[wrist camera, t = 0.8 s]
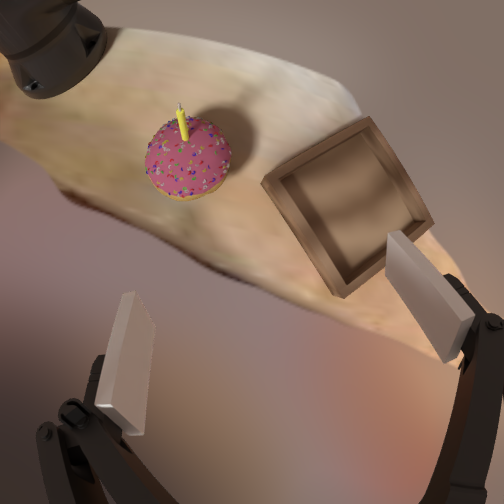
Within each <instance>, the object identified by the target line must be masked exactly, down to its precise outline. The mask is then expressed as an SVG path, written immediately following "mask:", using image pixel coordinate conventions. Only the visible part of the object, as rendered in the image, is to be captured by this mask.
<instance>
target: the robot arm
mask: <svg viewBox="0 0 504 504" xmlns="http://www.w3.org/2000/svg"><path fill="white" fill-rule="evenodd" d="M77 1H80V0H0V52H1V53H2V54H3V55H4V56H5V57H6V58H7V59H8V62H9V65H10V68H11V71H12V74H13V76H14V79H15V82H16V84H17V86H18V87H19V88H20V89H21V90H22V91H23V92H24V93H25V94H26V95H27V96H29V97H31V98H34V99H46V98H50V97H54V96H56V95H59V94H61V93H63V92H65V91H66V90H68V89H70V88H71V87H73V86H74V85H76V84H77V83H78V82H79V81H81V80H82V79H83V78H84V77H85V76H86V75H87V74H88V73H89V72H90V71H91V70H92V69H93V68H94V66H95V65H96V64H97V62H98V61H99V59H100V58H101V56H102V54H103V52H104V50H105V47H106V43H107V33H106V30H105V28H104V26H103V24H102V22H101V21H100V19H99V18H98V17H97V16H96V15H94V14H93V13H91V12H90V11H89V10H87V9H86V8H85V7H83V6H82V5H80V4H79V3H78V2H77ZM385 276H386V277H387V279H388V280H389V281H390V283H391V284H392V286H393V287H394V288H395V290H396V291H397V293H398V294H399V296H400V297H401V298H402V300H403V301H404V303H405V304H406V306H407V307H408V309H409V310H410V312H411V313H412V315H413V316H414V318H415V319H416V321H417V322H418V324H419V325H420V327H421V328H422V330H423V331H424V333H425V334H426V336H427V338H428V339H429V341H430V342H431V344H432V346H433V347H434V349H435V350H436V352H437V354H438V355H439V357H440V359H441V360H442V362H443V363H444V364H445V363H447V362H449V361H451V360H453V359H455V358H457V356H458V354H459V352H460V350H462V352H463V353H464V357H463V359H462V361H461V363H460V365H459V367H458V369H459V370H460V368H461V372H460V377H459V383H458V388H457V392H456V397H455V402H454V406H453V410H452V414H451V418H450V422H449V425H448V429H447V432H446V436H445V439H444V443H443V446H442V449H441V452H440V456H439V458H438V461H437V464H436V467H435V470H434V472H433V475H432V478H431V480H430V483H429V485H428V488H427V490H426V493H425V495H424V497H423V498H422V500H421V501H420V502H419V504H485V502H486V498H487V490H486V489H485V487H484V486H485V480H486V477H487V473H488V470H489V466H490V462H491V458H492V454H493V449H494V444H495V440H496V434H497V429H498V423H499V417H500V410H501V403H502V394H503V399H504V320H503V319H502V318H501V317H500V316H498V315H496V314H493V313H487V312H486V311H485V310H484V309H483V307H482V306H481V305H480V304H479V303H478V301H477V300H476V299H475V298H474V297H473V295H472V294H471V293H469V291H468V290H467V289H466V287H464V285H463V284H462V283H461V282H460V281H459V279H458V278H456V277H454V276H452V275H451V274H449V273H448V274H446V275H442V274H441V273H440V272H439V271H438V270H437V269H436V268H435V266H434V265H433V264H432V263H431V262H430V261H429V260H428V259H427V258H426V257H425V255H424V254H423V253H422V252H421V251H420V250H419V249H418V248H417V247H416V246H415V245H414V244H413V243H412V242H411V241H410V240H409V239H408V238H407V237H406V236H405V235H404V234H403V233H402V231H401V230H398V231H393V232H389V233H388V236H387V253H386V266H385ZM155 330H156V327H155V325H154V323H153V321H152V320H151V318H150V316H149V314H148V312H147V311H146V309H145V307H144V305H143V304H142V301H141V299H140V298H139V296H138V294H137V292H136V291H132V292H127V293H123V295H122V298H121V302H120V305H119V308H118V312H117V315H116V318H115V322H114V326H113V329H112V333H111V336H110V340H109V344H108V347H107V351H106V354H105V355H98V357H97V358H96V360H95V361H94V363H93V365H92V369H91V372H90V374H91V375H90V377H89V383H88V384H87V388H86V393H85V397H84V401H83V403H82V402H81V401H80V400H78V399H75V398H72V399H69V400H67V401H65V402H64V403H63V404H62V405H61V407H60V409H59V412H58V418H59V421H61V422H62V423H63V425H60V426H56V425H55V424H54V423H52V422H44V423H43V424H41V425H40V426H39V428H38V429H37V432H36V442H37V448H38V454H39V460H40V465H41V470H42V475H43V480H44V484H45V488H46V492H47V496H48V500H49V504H109V503H108V501H107V498H106V496H105V493H104V491H103V488H102V485H101V483H100V480H101V482H102V483H103V485H104V486H105V488H106V489H107V491H108V492H109V494H110V495H111V496H112V498H113V499H114V501H115V502H116V503H117V504H179V503H178V502H177V501H176V500H175V499H174V498H173V497H172V496H171V495H170V494H169V493H168V491H167V490H166V489H165V488H164V487H163V486H162V485H161V484H160V483H159V482H158V480H157V479H156V478H155V477H154V476H153V475H152V473H151V472H150V471H149V470H148V469H147V468H146V466H145V465H144V464H143V463H142V461H141V460H140V459H139V458H138V456H137V455H136V454H135V453H134V451H133V450H132V449H131V448H130V446H129V445H128V444H127V442H126V441H125V440H124V439H123V438H122V437H121V436H122V430H123V431H124V432H125V433H127V434H128V435H144V428H145V416H146V405H147V404H146V403H147V394H148V385H149V375H150V367H151V360H152V352H153V344H154V337H155ZM99 479H100V480H99Z"/></svg>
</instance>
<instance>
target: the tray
mask: <svg viewBox="0 0 504 504" xmlns="http://www.w3.org/2000/svg"><path fill="white" fill-rule="evenodd" d="M261 185H262V187H263V188H264V190H265V191H266V192H267V194H268V195H269V197H270V198H271V200H272V201H273V203H274V204H275V206H276V207H277V209H278V210H279V212H280V213H281V215H282V216H283V218H284V220H285V221H286V223H287V224H288V226H289V227H290V229H291V230H292V232H293V233H294V235H295V236H296V238H297V239H298V241H299V243H300V244H301V246H302V247H303V249H304V250H305V252H306V253H307V255H308V257H309V258H310V260H311V261H312V263H313V265H314V266H315V268H316V269H317V271H318V272H319V274H320V276H321V277H322V279H323V280H324V282H325V284H326V285H327V287H328V289H329V290H330V292H331V293H332V295H334V296H337V297H340V298H343V299H345V298H346V297H347V296H348V295H350V294H351V293H352V292H354V291H355V290H356V289H358V288H359V287H360V286H361V285H363V284H364V283H365V282H366V281H368V280H369V279H370V278H371V277H373V276H374V275H375V274H376V273H378V272H379V271H380V270H381V269H383V268H384V267H385V266H386V253H387V236H388V233H389V232H393V231H398V230H401V231H402V233H403V234H404V235H405V236H406V237H407V238H408V239H409V240H410V241H411V242H412V243H413V242H415V241H416V240H417V239H418V238H419V237H420V236H421V235H423V234H424V233H425V232H426V231H427V230H428V229H429V228H430V227H432V225H434V224H435V223H434V221H433V219H432V217H431V215H430V213H429V212H428V210H427V208H426V206H425V204H424V202H423V200H422V198H421V197H420V195H419V193H418V191H417V189H416V188H415V186H414V184H413V182H412V181H411V179H410V177H409V176H408V174H407V172H406V171H405V169H404V168H403V166H402V164H401V162H400V161H399V160H398V158H397V156H396V154H395V153H394V152H393V150H392V148H391V147H390V145H389V144H388V142H387V141H386V139H385V138H384V136H383V135H382V133H381V132H380V130H379V129H378V128H377V126H376V125H375V123H374V122H373V120H372V119H371V118H370V116H368V117H366V118H364V119H362V120H361V121H359V122H357V123H355V124H353V125H351V126H350V127H348V128H346V129H344V130H342V131H340V132H339V133H337V134H335V135H333V136H332V137H330V138H328V139H326V140H324V141H323V142H321V143H319V144H317V145H316V146H314V147H312V148H310V149H309V150H307V151H305V152H304V153H302V154H300V155H298V156H297V157H295V158H293V159H292V160H290V161H288V162H287V163H285V164H283V165H282V166H280V167H278V168H277V169H275V170H273V171H272V172H270V173H268V174H267V175H265V176H264V178H263V180H262V182H261Z"/></svg>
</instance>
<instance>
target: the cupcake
mask: <svg viewBox="0 0 504 504" xmlns="http://www.w3.org/2000/svg"><path fill="white" fill-rule="evenodd" d="M176 114H177V119H175V118H173V119H172V121H168V123H167V124H163V125H164V126H163V127H161V128H160V130H159V131H158V132H157V133H156V135H154V136H153V139H152V141H151V142H149V143H150V144H148V145H149V146H148V150H147V155H146V156H145V158H146V160H145V166H146V170H147V171H146V173H147V174H148V175H149V178H150V180H151V182H152V183H153V185H154V186H155V187H156V188H157V190H158V191H159V192H160V193H162V194H163V195H165V196H167V197H169V198H171V199H173V200H176V201H190V200H194V199H198V198H200V197H202V196H204V195H206V194H209V193H212V192H214V191H216V190H217V189H218V188H219V187H220V186H221V185H222V183H223V182H224V180H225V178H226V176H227V172H228V169H229V165H230V161H231V149H230V146H229V144H228V143H227V141H226V139H225V137H224V135H223V133H222V130H221V129H219V128H218V127H217V126H215V125H214V124H213V123H211V122H209V121H206V120H203V119H202V118H201V119H200V118H199V117H197V118H191V117H190V116H188V117H185V112H184V109H183V108H181V105H180V103H178V109H177V110H176ZM174 119H175V120H174Z"/></svg>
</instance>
